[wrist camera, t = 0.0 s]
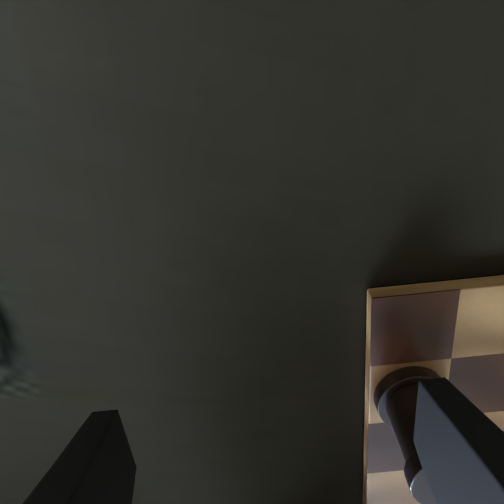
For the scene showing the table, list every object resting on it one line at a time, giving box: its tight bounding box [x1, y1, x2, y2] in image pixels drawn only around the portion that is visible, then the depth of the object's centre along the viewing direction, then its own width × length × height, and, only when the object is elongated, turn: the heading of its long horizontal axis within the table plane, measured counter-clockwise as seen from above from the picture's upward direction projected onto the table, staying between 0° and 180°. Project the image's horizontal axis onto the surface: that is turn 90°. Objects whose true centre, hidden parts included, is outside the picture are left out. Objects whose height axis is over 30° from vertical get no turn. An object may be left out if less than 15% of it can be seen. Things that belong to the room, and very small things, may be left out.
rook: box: [373, 366, 441, 504], centre depth 21 cm, size 4×4×5 cm
